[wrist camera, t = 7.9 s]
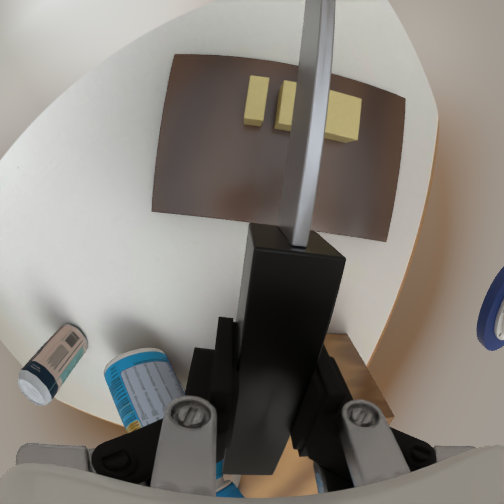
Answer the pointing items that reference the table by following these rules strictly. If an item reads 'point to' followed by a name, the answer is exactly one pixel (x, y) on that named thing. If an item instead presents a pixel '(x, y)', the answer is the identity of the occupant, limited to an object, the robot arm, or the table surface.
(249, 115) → the butter slice
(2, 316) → the table surface
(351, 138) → the butter stick
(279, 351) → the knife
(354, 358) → the bread box
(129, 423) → the blue jar
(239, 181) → the board
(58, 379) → the beige cylinder
